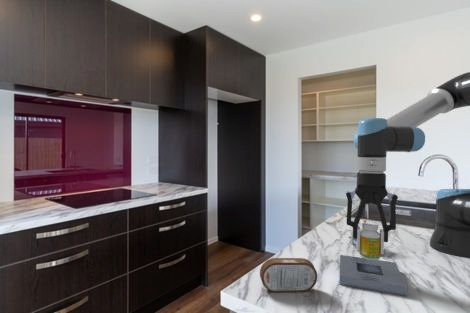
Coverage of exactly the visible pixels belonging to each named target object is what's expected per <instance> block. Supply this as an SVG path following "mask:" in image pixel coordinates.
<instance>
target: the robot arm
mask: <svg viewBox="0 0 470 313" xmlns="http://www.w3.org/2000/svg"><path fill="white" fill-rule="evenodd" d="M464 107H470V71H469V72H465V73H461V74H460V75H457V76H454V77H453V78H451V79H449V80H447V81H445V82H444V83H442V84H440V85H439V86H437V87H435V88H434V89H432V90H430V91H429V92H428V94H427V95H426V96H425V97H424V98H422V99H420V100H418V101H417V102H415V103H412V104H411V105H410V106H408V107H406V108H404V109H403V110H402V109H401V111H399V112H396V113H395V114H394V115H392V116H390V117H389V118H387V119H386V118H382V117H371V118H363V119H360V120H359V121H358V126H357V132H356V133H355V135H354V137H353V144H354V147H355V148H356V150H357V152H356V153H357V157H356V170H357V171H358V172H357V173H356V187H355V188H354V190H351V191H349V190H348V191H346V192H345V195H346V198H347V207H346V225H347V226H350V227H351V228H352V229H353V238H354V239H357V249H356V251H357V252H360V229H361V226H359V224H360V221H361V219H362V215H363V212H364V210H365V207H366V205H374V206H376V209H377V212H378V216H379V218H380V219H379V220H380V223H381V226H382V228H379V233H380V255H384V253H385V252H384V251H385V250H384V248H385V247H384V246H385V243H388V242H389V232H390V231H392V230H393V231H395V230H396V229H397V214H396V212H397V210H396V207H397V205H396V204H397V200H398V198H399V196H398V195H397V194H396V193H391V192H388V190H387V183H386V182H387V175H386V173H384V172H386V171H387V152H390V153H391V152H395V153H403V152H405V153H412V152H413V153H414V152H418V151H420V150H422V148H424V145H425V143H426V133H425V132H424V130H422V128H420V127H419V126H421V125H422V124H425V123H426V122H427V121H430V120H431V119H433V118H435V117H436V116H438V115H440V114H446V113H447V114H448V113H449V112H451V111H452V110H455V109H460V108H464ZM436 192H437V193H436V198H435V207H436V208H435V228H434V230H433V231H432V234H431V236H430V238H429V246H430V248H432V249H434V250H435V251H438V252H441V253H443V254H448V255H453V256H458V257H465V258H470V188H442V189H439V190H438V191H436ZM355 195H356V196H357V198H359V200H360V201H359V205H358V207H357V211H356V214H355V216H354V219H353V220H352V213H353V212H352V211H353V199H354V198H355ZM386 197H387V200H388V201H389V203H388V204H389V206H388V209H389V211H388V212H389V215H388V216H389V224H388V223H387V220H386V216H385V212H384V209H383V204H382V201H384V199H385V198H386ZM358 226H359V227H358Z"/></svg>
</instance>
